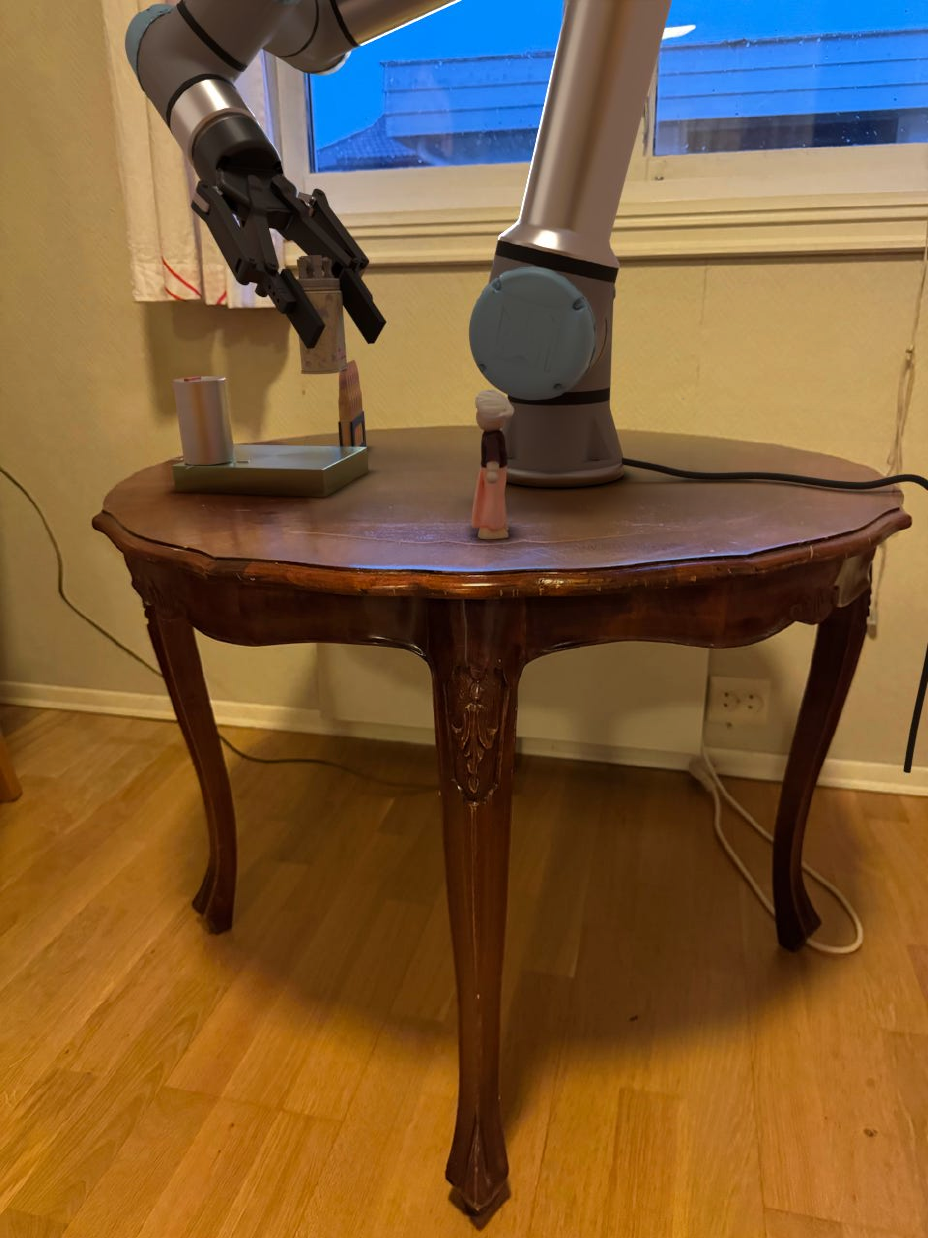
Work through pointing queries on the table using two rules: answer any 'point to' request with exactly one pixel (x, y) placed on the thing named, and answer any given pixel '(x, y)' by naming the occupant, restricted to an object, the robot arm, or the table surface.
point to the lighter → (323, 317)
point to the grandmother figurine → (491, 466)
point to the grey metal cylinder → (204, 420)
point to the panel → (276, 471)
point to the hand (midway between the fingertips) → (347, 334)
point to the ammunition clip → (351, 409)
